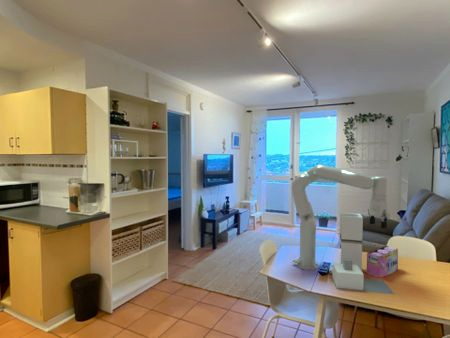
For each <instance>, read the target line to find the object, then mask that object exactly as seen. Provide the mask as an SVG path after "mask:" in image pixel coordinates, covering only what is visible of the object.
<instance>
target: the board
mask: <svg viewBox="0 0 450 338" xmlns="http://www.w3.org/2000/svg"><path fill="white" fill-rule="evenodd" d="M332 276H333V275H331V279H332V281H333V284H334V286H335V288H336V290H343V291H353V292H355V291H356V292H364V293H375V294H388V295H395V292H394V291H393V290H392V289H391V288H390V286H389V285H388V284H387V283H386V282H385V281H384V279H383V280H382V279H370V278H364V282H363V290H357V289H346V288H337V287H336V284H335V282H334V280H333V277H332Z"/></svg>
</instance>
